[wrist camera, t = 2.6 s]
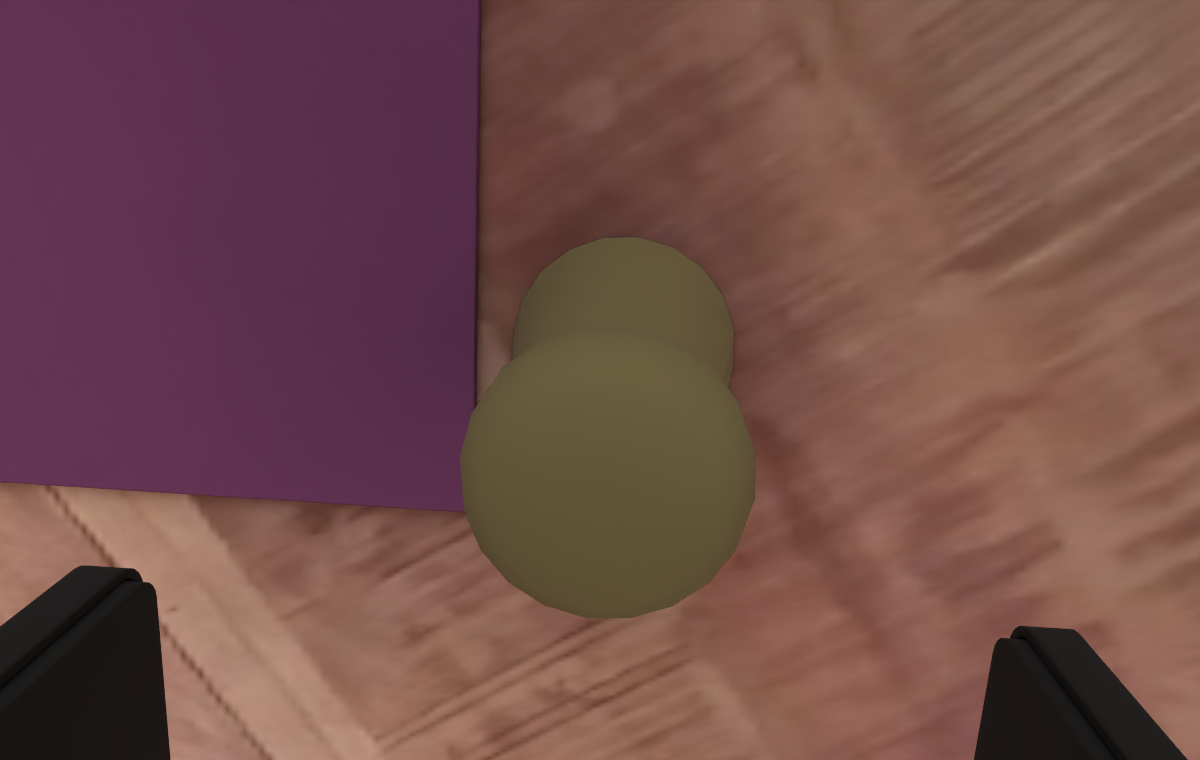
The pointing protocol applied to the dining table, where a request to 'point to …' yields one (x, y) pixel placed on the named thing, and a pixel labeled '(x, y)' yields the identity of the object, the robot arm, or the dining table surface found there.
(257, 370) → the placemat
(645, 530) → the pepper mill
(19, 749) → the robot arm
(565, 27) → the dining table surface
